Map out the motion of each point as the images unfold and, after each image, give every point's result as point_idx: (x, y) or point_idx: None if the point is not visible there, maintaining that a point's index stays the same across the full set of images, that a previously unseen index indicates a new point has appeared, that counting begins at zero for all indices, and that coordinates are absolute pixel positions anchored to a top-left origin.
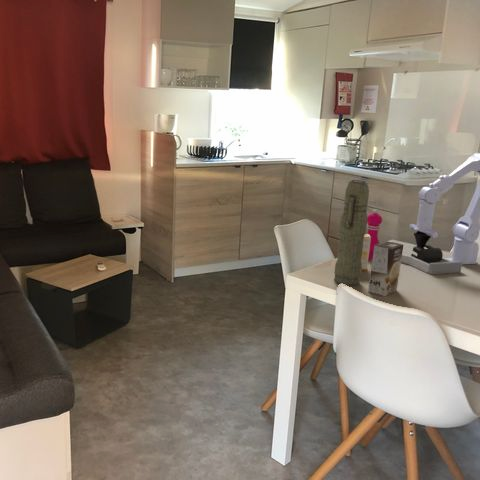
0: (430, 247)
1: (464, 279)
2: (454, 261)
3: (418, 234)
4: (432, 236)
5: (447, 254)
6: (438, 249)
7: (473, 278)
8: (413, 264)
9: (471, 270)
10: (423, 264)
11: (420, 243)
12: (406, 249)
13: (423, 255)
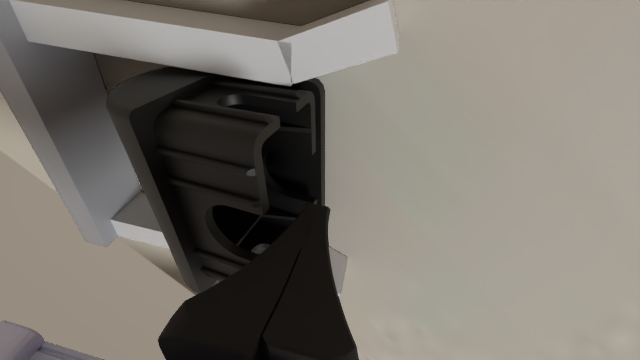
0: (234, 269)
1: (12, 126)
2: (89, 218)
3: (216, 340)
4: (6, 337)
5: (373, 355)
6: (181, 272)
7: (44, 177)
8: (228, 19)
9: (159, 258)
10: (84, 7)
11: (265, 251)
12: (569, 305)
13: (116, 87)
